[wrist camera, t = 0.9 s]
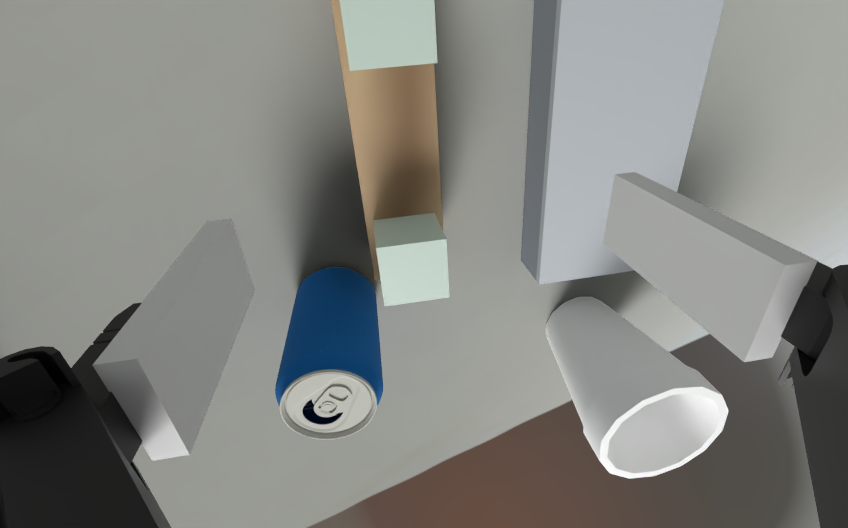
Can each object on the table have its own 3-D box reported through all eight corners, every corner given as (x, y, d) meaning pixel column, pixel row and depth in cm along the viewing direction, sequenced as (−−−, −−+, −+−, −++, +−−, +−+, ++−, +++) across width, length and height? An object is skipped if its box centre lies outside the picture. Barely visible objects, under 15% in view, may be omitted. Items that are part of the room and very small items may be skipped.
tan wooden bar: (372, 248, 33) (374, 280, 28) (330, -25, 24) (325, -38, 20) (433, 240, 33) (445, 270, 29) (415, -31, 24) (428, -45, 20)
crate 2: (381, 273, 28) (384, 306, 25) (373, 220, 26) (376, 248, 23) (437, 265, 29) (449, 297, 25) (434, 212, 27) (446, 238, 23)
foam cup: (635, 327, 41) (739, 436, 30) (555, 374, 43) (626, 493, 32) (601, 264, 37) (709, 364, 26) (513, 318, 38) (579, 435, 27)
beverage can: (282, 305, 34) (250, 422, 24) (324, 247, 32) (310, 348, 22) (347, 337, 37) (344, 456, 26) (390, 286, 35) (406, 393, 24)
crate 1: (350, 65, 22) (349, 70, 18) (337, -26, 20) (333, -39, 16) (424, 58, 22) (437, 62, 19) (418, -32, 20) (432, -46, 17)
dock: (521, 260, 35) (538, 284, 32) (537, -60, 24) (567, -76, 21) (629, 245, 36) (658, 267, 33) (692, -70, 25) (745, -87, 22)
